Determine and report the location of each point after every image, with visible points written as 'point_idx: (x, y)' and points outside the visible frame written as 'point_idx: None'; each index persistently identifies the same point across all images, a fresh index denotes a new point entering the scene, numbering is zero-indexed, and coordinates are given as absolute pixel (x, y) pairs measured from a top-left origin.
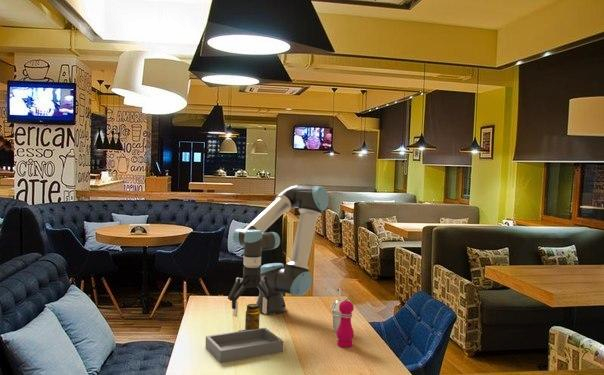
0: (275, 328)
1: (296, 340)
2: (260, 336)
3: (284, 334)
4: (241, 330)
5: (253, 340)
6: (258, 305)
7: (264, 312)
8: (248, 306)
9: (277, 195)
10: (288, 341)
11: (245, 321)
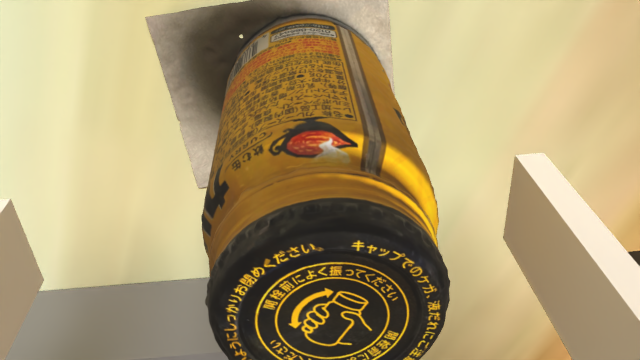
0: (603, 59)
1: (567, 353)
2: None
3: None
4: (196, 22)
5: None
6: (434, 337)
7: (511, 236)
8: (223, 348)
9: None
10: (502, 356)
11: (217, 136)
